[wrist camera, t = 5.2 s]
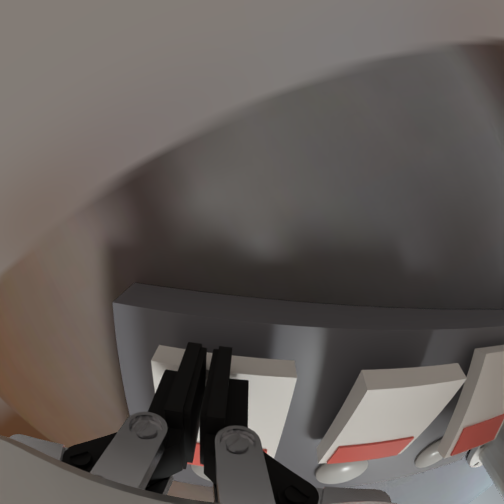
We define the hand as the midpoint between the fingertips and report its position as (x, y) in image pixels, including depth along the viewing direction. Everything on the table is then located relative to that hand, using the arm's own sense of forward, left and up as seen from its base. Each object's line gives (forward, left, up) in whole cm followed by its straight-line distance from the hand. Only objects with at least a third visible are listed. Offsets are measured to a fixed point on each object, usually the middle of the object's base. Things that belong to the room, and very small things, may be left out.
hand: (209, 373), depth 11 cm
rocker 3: (-19, +4, -1) cm, 19 cm away
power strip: (-12, +7, -6) cm, 15 cm away
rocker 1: (-1, +4, -1) cm, 4 cm away
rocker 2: (-10, +4, -1) cm, 10 cm away
